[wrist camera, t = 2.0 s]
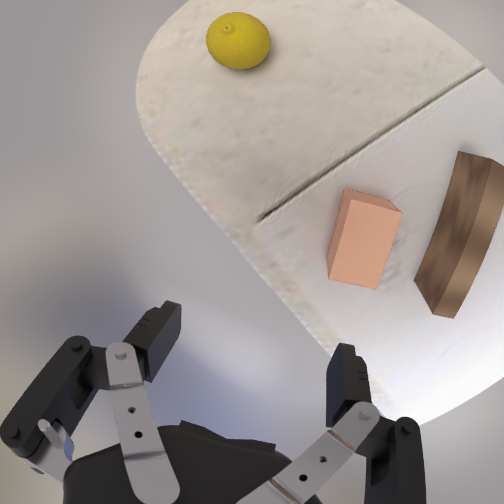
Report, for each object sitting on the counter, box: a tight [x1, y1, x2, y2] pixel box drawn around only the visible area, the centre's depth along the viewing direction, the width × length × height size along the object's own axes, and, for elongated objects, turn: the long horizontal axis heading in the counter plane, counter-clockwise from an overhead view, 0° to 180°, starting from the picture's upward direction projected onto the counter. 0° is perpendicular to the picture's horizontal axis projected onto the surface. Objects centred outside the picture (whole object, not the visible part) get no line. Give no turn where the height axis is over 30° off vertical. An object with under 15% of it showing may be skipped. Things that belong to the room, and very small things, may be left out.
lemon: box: [206, 12, 271, 70], centre depth 20 cm, size 6×6×8 cm
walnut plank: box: [414, 151, 504, 319], centre depth 23 cm, size 16×3×7 cm, turn 170°
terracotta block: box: [326, 189, 402, 289], centre depth 27 cm, size 8×5×5 cm, turn 172°
